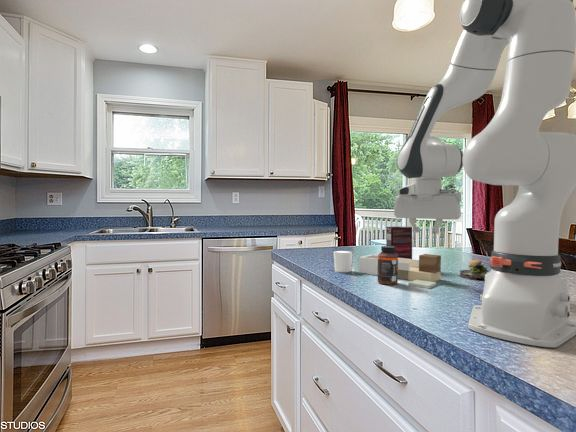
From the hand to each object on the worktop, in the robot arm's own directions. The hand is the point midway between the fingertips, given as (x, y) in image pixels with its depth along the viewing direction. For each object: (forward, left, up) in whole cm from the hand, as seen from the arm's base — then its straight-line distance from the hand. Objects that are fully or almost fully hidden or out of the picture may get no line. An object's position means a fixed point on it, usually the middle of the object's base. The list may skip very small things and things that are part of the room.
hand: (425, 233), depth 112 cm
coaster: (-8, -2, -15) cm, 17 cm away
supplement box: (+14, +16, -15) cm, 26 cm away
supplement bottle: (-13, +6, -15) cm, 21 cm away
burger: (+17, -11, -16) cm, 26 cm away
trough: (0, +9, -15) cm, 18 cm away
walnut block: (0, -1, -12) cm, 12 cm away
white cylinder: (-6, +28, -15) cm, 32 cm away
